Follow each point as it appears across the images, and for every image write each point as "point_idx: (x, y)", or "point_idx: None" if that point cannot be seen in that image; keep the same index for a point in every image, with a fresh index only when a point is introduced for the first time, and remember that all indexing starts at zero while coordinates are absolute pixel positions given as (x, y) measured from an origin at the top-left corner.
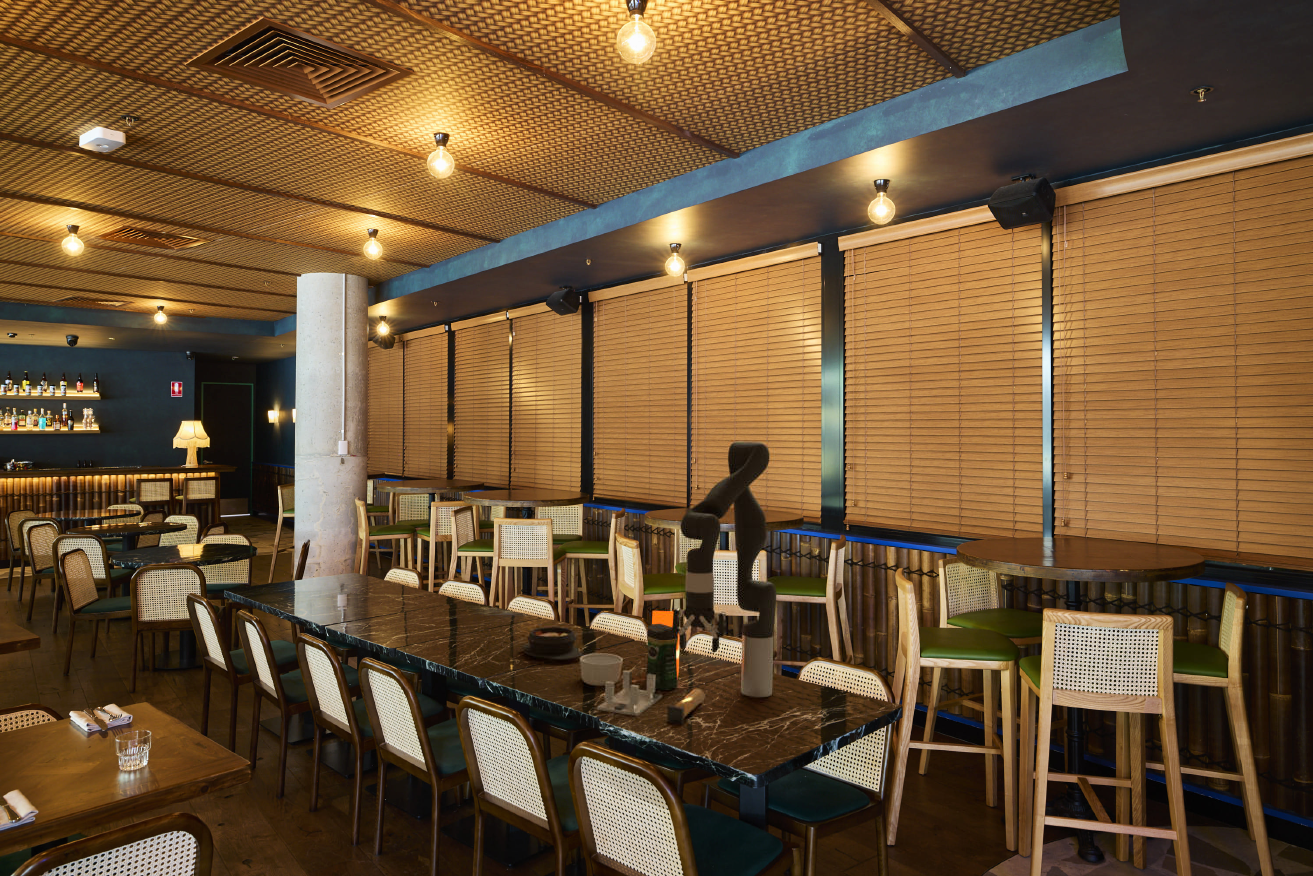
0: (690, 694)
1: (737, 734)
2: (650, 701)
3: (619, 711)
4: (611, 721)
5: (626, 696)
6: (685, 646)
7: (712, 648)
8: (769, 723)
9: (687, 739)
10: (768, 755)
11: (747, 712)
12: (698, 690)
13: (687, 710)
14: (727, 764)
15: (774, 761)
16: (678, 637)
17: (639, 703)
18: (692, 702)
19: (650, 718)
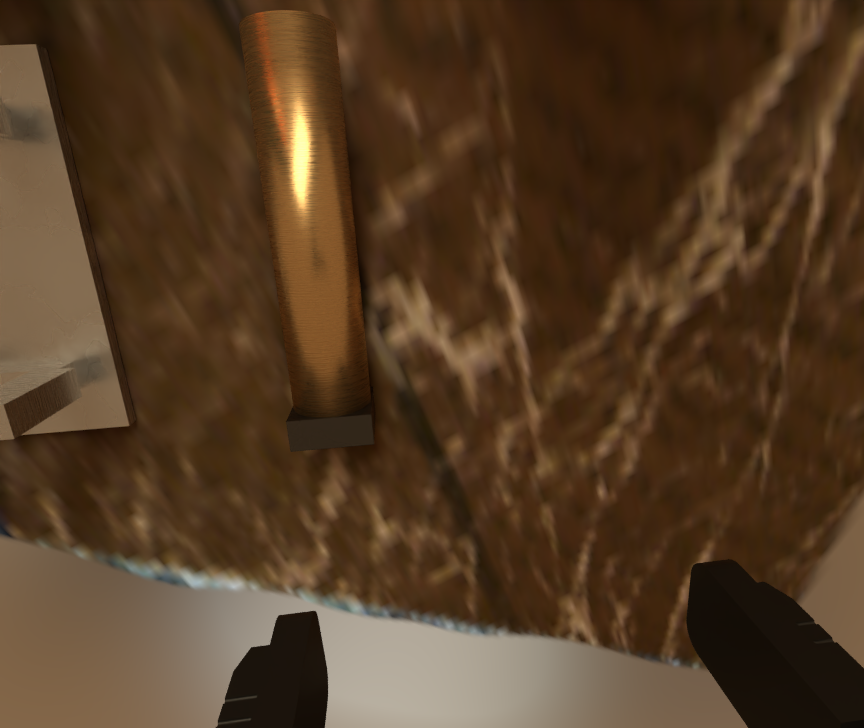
0: (297, 176)
1: (631, 403)
2: (66, 219)
3: (29, 432)
4: (80, 531)
5: None
6: (316, 642)
7: (720, 680)
8: (742, 196)
9: (465, 545)
10: (774, 533)
11: (610, 77)
12: (300, 48)
13: (365, 350)
14: (659, 655)
15: (797, 566)
16: None
17: (37, 285)
18: (349, 254)
19: (208, 414)
